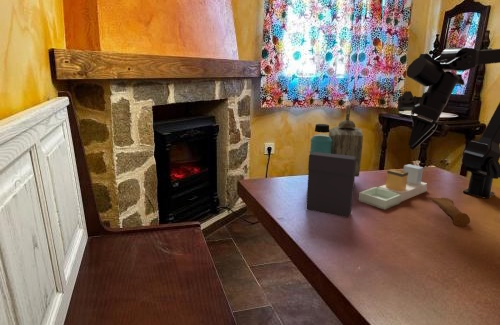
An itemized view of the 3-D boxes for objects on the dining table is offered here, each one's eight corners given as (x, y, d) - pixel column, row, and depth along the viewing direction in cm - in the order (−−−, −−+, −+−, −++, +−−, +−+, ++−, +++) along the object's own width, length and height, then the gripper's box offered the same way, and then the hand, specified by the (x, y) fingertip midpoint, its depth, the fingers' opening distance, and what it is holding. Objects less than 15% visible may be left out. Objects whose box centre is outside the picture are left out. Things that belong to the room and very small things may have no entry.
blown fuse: (390, 191, 106) (393, 168, 104) (405, 196, 102) (408, 172, 100) (384, 193, 104) (387, 170, 102) (399, 198, 100) (402, 174, 98)
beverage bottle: (332, 188, 108) (337, 123, 103) (324, 194, 103) (329, 126, 98) (312, 184, 112) (316, 121, 106) (303, 190, 106) (307, 124, 101)
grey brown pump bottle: (357, 191, 106) (366, 107, 100) (327, 189, 108) (333, 106, 101) (352, 177, 120) (359, 103, 114) (325, 175, 122) (331, 102, 115)
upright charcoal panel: (351, 212, 90) (357, 155, 87) (348, 218, 87) (354, 159, 83) (309, 205, 95) (313, 150, 91) (305, 210, 91) (308, 154, 87)
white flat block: (404, 185, 113) (405, 177, 112) (426, 191, 108) (427, 183, 107) (378, 194, 104) (379, 186, 103) (400, 201, 99) (401, 193, 98)
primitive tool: (428, 199, 102) (430, 187, 102) (449, 200, 102) (451, 189, 101) (453, 227, 84) (455, 213, 83) (478, 229, 83) (481, 216, 82)
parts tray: (374, 194, 104) (375, 186, 103) (400, 203, 98) (401, 194, 97) (358, 200, 99) (359, 192, 98) (384, 209, 93) (385, 200, 92)
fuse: (405, 186, 111) (408, 164, 109) (419, 190, 108) (423, 167, 106) (400, 188, 109) (403, 165, 107) (415, 192, 106) (418, 169, 104)
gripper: (409, 92, 105) (385, 140, 107) (406, 74, 89) (378, 131, 91) (448, 105, 101) (422, 155, 103) (452, 88, 84) (422, 148, 86)
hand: (410, 147), depth 96 cm, fingers open, 9 cm apart
